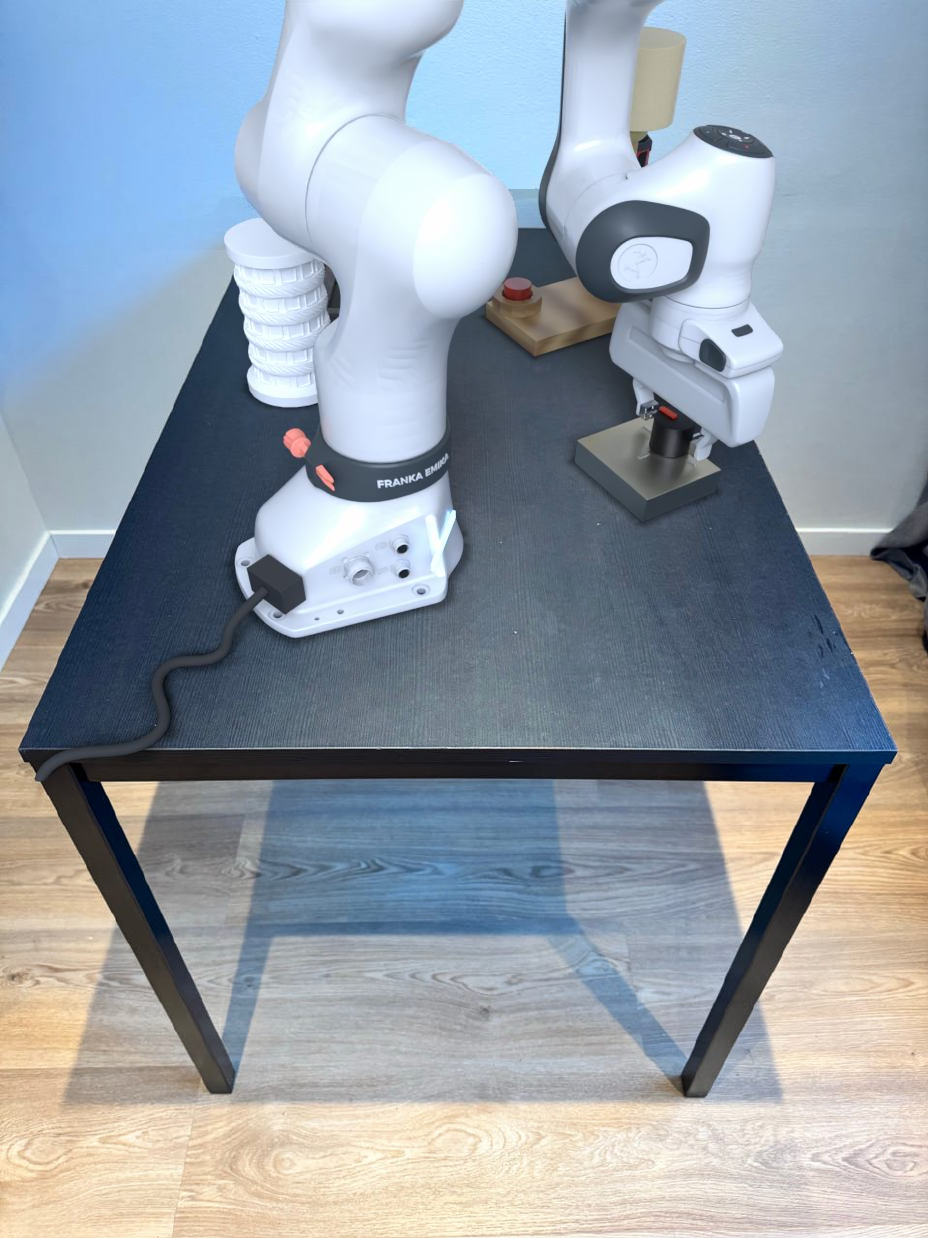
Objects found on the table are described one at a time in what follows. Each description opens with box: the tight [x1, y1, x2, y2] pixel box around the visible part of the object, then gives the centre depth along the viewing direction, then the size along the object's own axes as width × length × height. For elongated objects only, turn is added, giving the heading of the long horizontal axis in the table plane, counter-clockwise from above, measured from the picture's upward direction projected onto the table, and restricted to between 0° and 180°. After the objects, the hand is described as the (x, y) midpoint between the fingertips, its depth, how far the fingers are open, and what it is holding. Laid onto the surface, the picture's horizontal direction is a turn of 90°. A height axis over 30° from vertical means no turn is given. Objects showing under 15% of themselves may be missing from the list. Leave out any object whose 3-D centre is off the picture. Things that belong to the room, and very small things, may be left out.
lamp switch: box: [503, 276, 532, 301], centre depth 116 cm, size 4×4×2 cm
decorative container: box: [223, 216, 331, 408], centre depth 102 cm, size 12×12×18 cm
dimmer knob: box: [649, 405, 697, 458], centre depth 93 cm, size 4×4×4 cm
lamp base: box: [485, 276, 622, 357], centre depth 118 cm, size 16×12×4 cm
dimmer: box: [574, 416, 722, 523], centre depth 95 cm, size 12×12×3 cm
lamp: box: [629, 25, 688, 155], centre depth 106 cm, size 9×9×30 cm
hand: (671, 435), depth 94 cm, fingers open, 7 cm apart
